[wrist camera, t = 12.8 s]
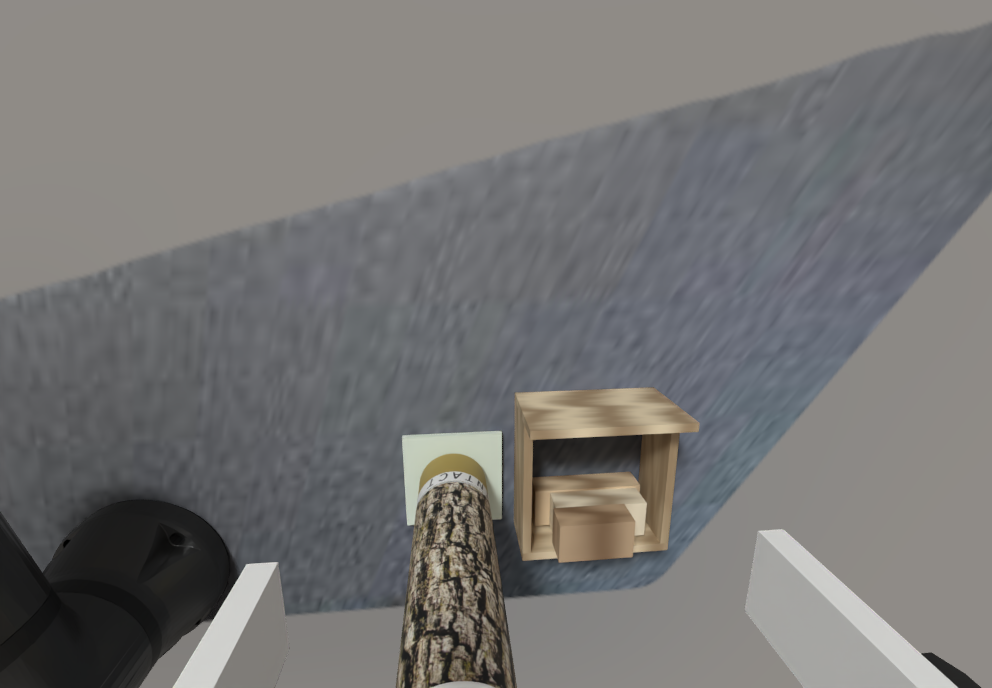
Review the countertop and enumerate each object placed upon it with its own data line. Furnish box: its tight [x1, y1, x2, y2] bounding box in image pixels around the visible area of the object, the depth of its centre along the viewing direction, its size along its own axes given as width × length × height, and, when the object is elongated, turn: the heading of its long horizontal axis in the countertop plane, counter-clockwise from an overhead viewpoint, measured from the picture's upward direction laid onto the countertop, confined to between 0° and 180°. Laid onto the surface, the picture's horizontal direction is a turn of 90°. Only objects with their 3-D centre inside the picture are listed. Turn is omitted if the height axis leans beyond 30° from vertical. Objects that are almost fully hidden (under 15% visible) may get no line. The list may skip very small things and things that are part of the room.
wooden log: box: [396, 453, 517, 688], centre depth 35 cm, size 7×7×25 cm
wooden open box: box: [514, 387, 699, 561], centre depth 44 cm, size 15×15×9 cm
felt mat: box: [402, 431, 502, 525], centre depth 48 cm, size 10×10×1 cm
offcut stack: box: [532, 472, 647, 563], centre depth 46 cm, size 11×4×8 cm, turn 90°
